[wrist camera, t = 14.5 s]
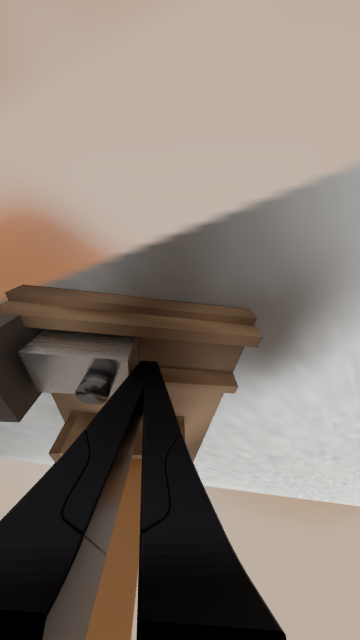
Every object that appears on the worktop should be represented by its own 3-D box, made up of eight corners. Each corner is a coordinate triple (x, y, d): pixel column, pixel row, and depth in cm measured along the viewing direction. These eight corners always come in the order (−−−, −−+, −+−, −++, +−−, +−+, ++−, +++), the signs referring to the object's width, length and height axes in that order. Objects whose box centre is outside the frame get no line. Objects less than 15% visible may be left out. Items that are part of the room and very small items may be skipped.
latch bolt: (64, 359, 9) (24, 409, 7) (52, 323, 8) (-3, 369, 5) (137, 364, 9) (125, 414, 7) (137, 330, 8) (122, 377, 6)
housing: (86, 449, 17) (65, 504, 14) (23, 284, 8) (-91, 334, 4) (191, 451, 19) (195, 503, 15) (248, 309, 9) (294, 364, 6)
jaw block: (112, 450, 16) (37, 729, 7) (108, 426, 13) (-11, 799, 5) (150, 450, 16) (122, 718, 7) (152, 428, 14) (115, 779, 5)
